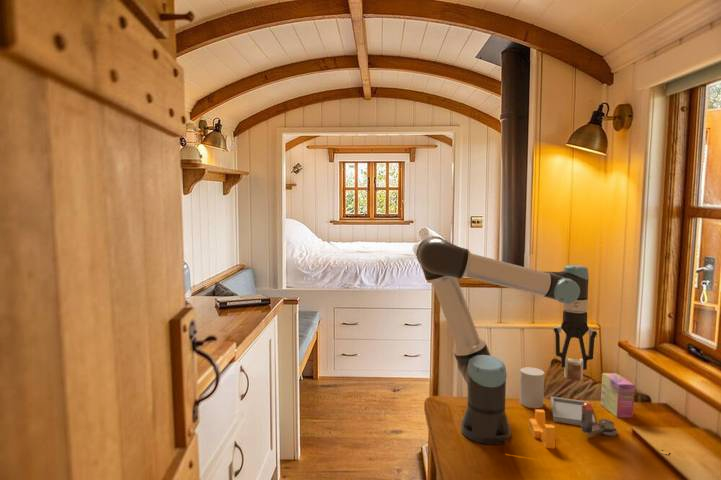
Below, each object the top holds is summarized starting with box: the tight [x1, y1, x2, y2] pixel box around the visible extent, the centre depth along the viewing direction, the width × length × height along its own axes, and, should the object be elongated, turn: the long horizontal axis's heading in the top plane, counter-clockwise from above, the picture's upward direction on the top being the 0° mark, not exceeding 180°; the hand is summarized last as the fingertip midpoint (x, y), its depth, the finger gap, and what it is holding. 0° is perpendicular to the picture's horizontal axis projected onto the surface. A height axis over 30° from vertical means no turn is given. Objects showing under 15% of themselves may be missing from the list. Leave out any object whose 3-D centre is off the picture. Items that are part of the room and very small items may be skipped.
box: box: [600, 372, 636, 419], centre depth 153 cm, size 10×6×12 cm, turn 179°
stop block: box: [566, 357, 581, 382], centre depth 150 cm, size 4×4×6 cm
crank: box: [580, 402, 615, 436], centre depth 137 cm, size 13×4×10 cm, turn 114°
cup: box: [519, 366, 545, 409], centre depth 159 cm, size 8×8×12 cm
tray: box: [550, 396, 597, 427], centre depth 151 cm, size 13×17×2 cm
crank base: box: [598, 427, 618, 438], centre depth 133 cm, size 20×6×1 cm, turn 36°
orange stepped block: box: [528, 408, 556, 449], centre depth 135 cm, size 12×4×6 cm, turn 173°
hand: (573, 377), depth 150 cm, fingers closed on stop block, 4 cm apart
